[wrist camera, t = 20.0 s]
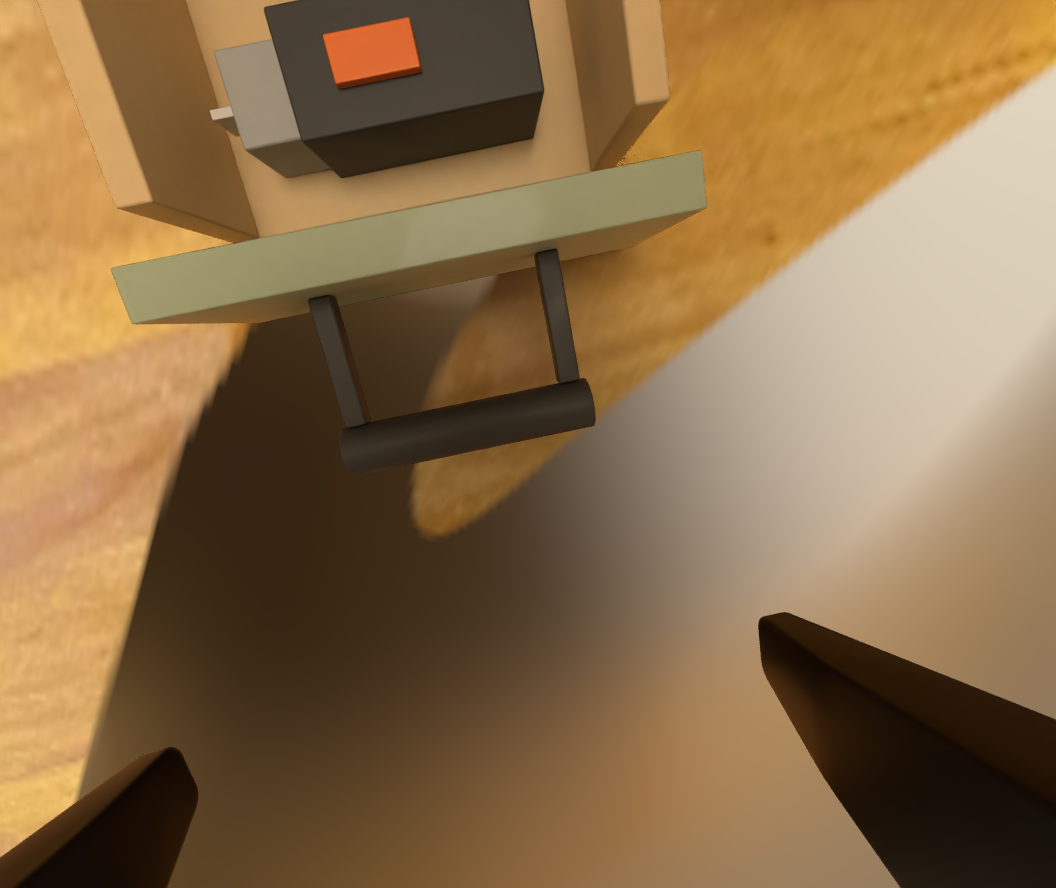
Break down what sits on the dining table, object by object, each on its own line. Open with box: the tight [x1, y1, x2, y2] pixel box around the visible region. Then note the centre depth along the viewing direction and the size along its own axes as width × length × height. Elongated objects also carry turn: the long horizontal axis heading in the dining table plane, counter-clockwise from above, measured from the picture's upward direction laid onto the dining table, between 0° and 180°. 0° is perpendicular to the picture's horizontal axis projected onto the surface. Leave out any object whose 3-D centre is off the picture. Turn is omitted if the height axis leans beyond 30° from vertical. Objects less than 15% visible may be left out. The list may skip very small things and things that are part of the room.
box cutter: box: [210, 0, 544, 178], centre depth 13 cm, size 8×3×4 cm, turn 102°
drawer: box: [37, 0, 707, 476], centre depth 13 cm, size 18×13×6 cm
